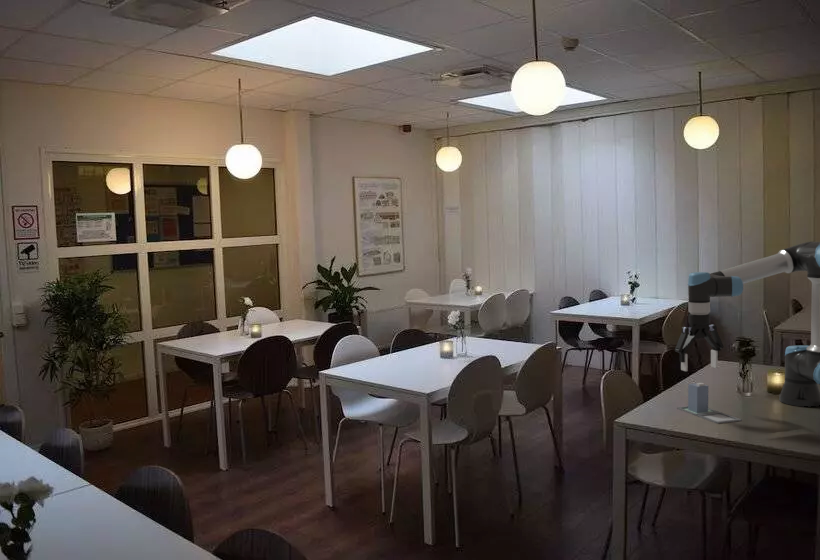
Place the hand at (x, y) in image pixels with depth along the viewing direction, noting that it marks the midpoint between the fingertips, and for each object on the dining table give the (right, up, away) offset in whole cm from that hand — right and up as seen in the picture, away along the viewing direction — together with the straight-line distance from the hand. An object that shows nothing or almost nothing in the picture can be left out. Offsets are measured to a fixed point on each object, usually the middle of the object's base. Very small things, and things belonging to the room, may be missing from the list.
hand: (699, 369), depth 260 cm
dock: (+2, -18, -4) cm, 18 cm away
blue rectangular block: (0, -16, +1) cm, 16 cm away
